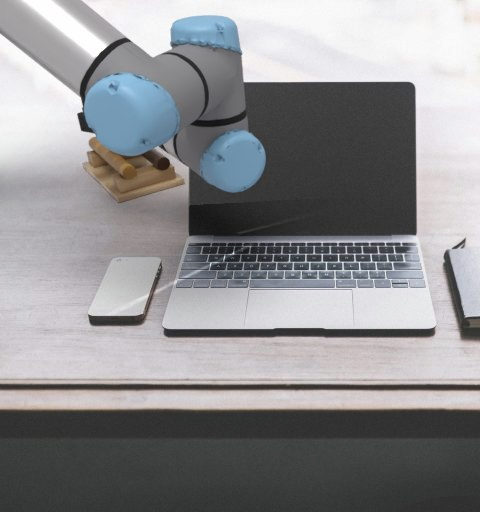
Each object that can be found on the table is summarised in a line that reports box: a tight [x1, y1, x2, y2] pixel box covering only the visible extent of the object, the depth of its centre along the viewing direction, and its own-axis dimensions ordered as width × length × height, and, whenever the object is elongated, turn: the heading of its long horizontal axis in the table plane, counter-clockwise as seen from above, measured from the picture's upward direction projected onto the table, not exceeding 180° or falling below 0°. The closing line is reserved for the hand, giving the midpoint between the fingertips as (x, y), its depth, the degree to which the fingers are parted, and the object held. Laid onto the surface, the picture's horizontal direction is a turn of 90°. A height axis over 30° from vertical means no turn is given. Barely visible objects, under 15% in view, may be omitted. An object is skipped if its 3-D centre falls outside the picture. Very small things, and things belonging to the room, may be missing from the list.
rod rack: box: [82, 136, 185, 204], centre depth 112 cm, size 19×12×6 cm, turn 35°
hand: (127, 95), depth 98 cm, fingers open, 13 cm apart
